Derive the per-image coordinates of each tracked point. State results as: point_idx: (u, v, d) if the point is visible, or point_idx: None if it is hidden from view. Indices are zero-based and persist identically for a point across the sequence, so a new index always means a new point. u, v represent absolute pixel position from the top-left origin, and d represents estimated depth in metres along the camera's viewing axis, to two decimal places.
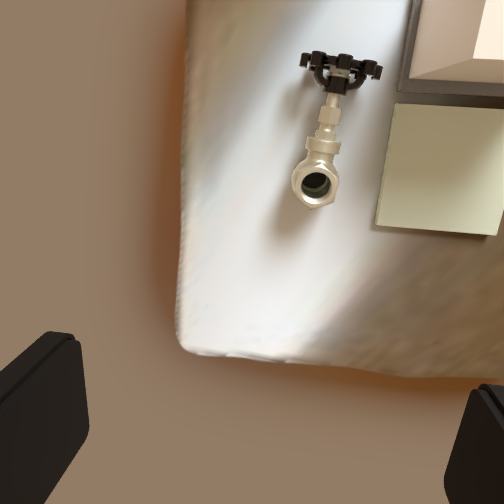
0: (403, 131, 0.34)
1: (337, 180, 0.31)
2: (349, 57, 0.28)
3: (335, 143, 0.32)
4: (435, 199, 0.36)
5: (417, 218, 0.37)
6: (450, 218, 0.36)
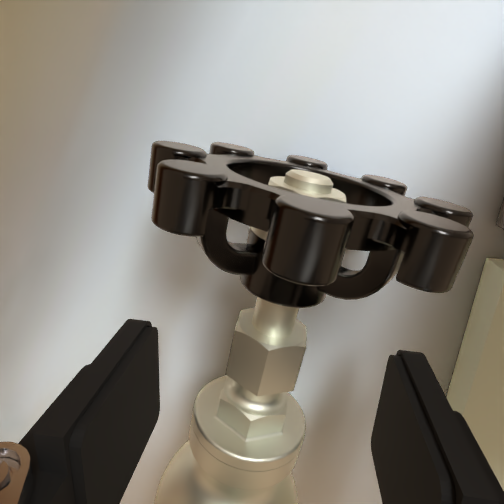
0: None
1: None
2: (332, 231, 0.05)
3: (282, 459, 0.09)
4: None
5: None
6: None
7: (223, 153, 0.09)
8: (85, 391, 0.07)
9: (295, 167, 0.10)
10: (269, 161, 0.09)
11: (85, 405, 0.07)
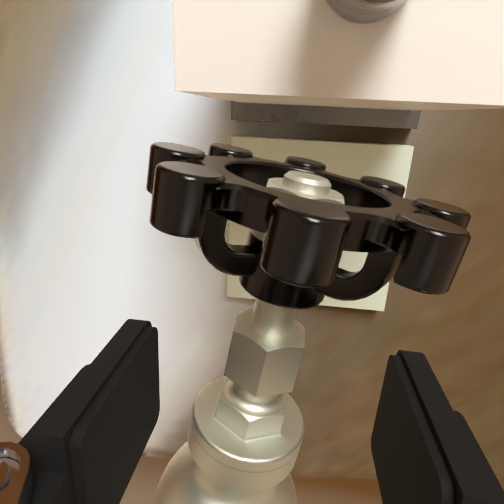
0: None
1: None
2: (330, 233, 0.05)
3: (280, 460, 0.09)
4: None
5: None
6: None
7: (222, 154, 0.09)
8: (85, 391, 0.07)
9: (294, 168, 0.10)
10: (268, 162, 0.09)
11: (85, 405, 0.07)
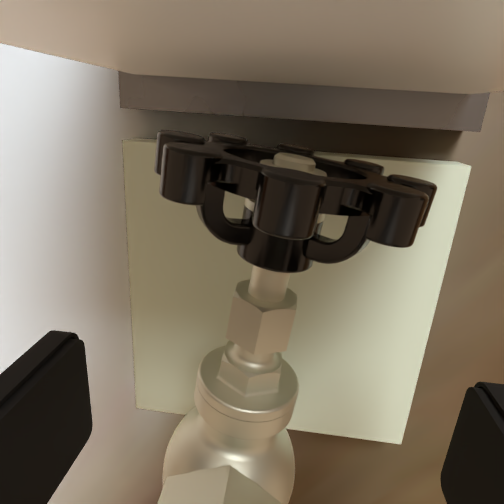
0: (149, 210, 0.13)
1: None
2: (307, 192, 0.06)
3: (277, 411, 0.10)
4: None
5: None
6: None
7: (220, 141, 0.10)
8: None
9: (284, 153, 0.11)
10: (261, 148, 0.10)
11: None
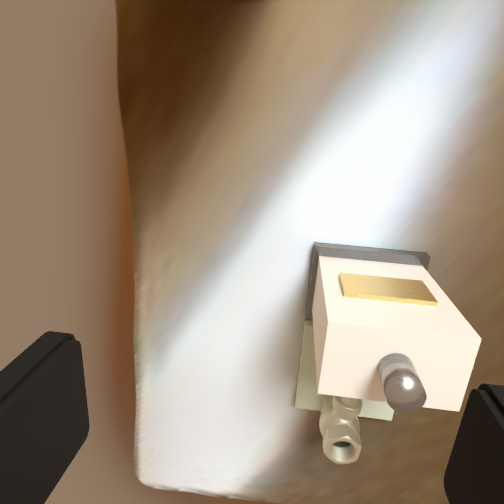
0: (310, 344, 0.42)
1: (360, 447, 0.38)
2: None
3: (358, 409, 0.39)
4: None
5: None
6: None
7: None
8: None
9: None
10: None
11: None
